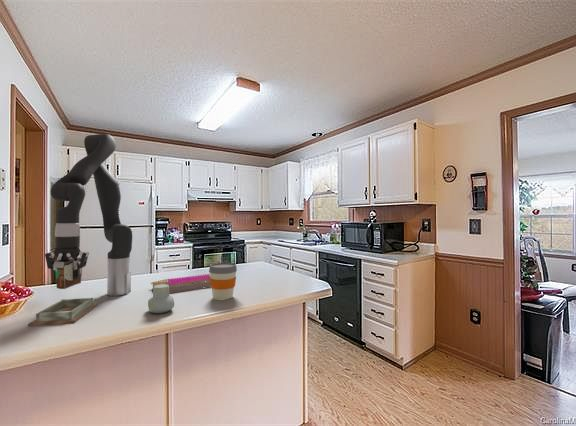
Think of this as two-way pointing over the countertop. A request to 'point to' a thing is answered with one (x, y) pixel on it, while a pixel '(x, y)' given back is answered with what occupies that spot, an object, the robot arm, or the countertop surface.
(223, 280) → the reusable coffee cup
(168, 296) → the pale grey rounded vessel
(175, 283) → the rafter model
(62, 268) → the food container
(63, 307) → the holder
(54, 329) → the countertop surface
